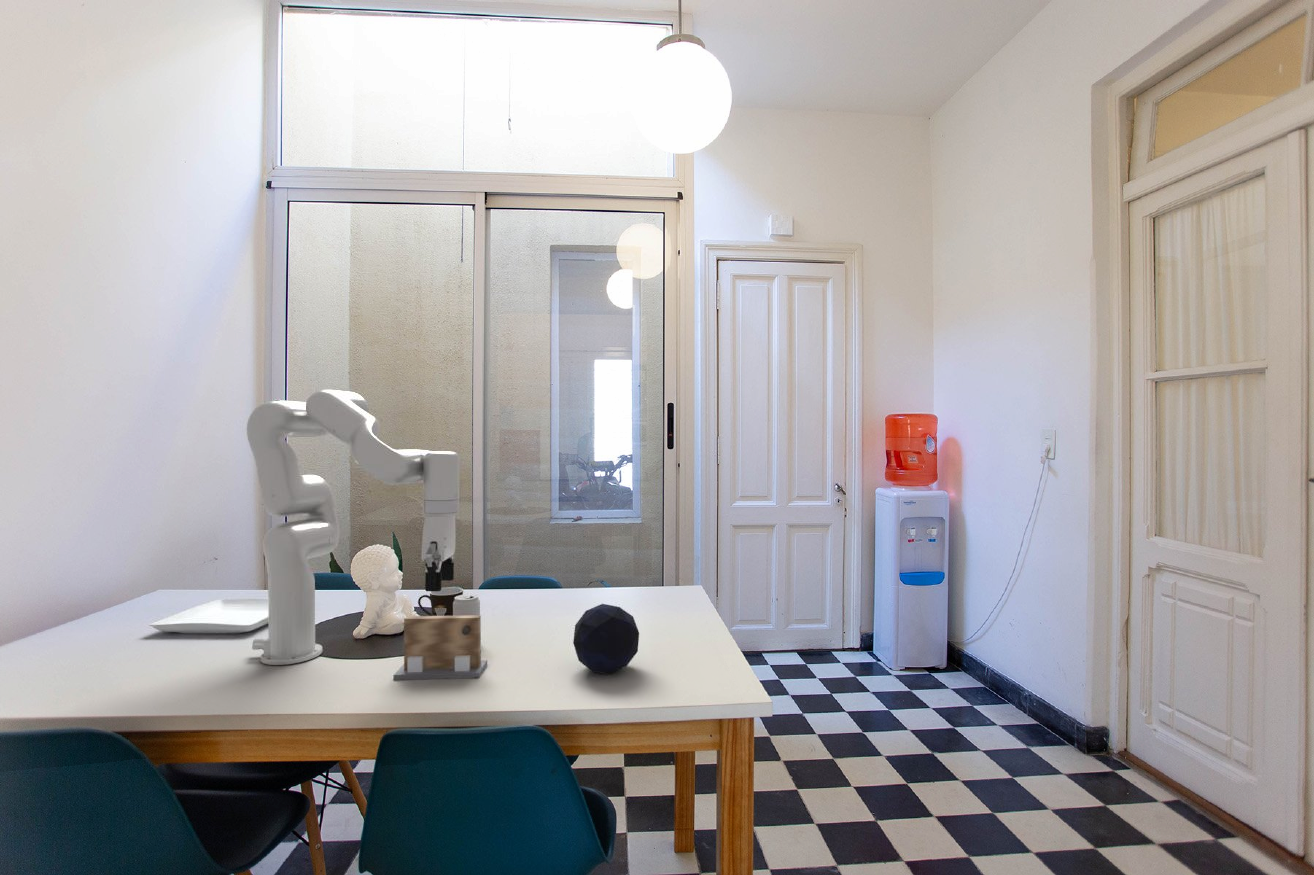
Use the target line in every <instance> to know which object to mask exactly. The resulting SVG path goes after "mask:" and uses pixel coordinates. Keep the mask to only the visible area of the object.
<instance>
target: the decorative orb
mask: <svg viewBox="0 0 1314 875" xmlns="http://www.w3.org/2000/svg"><path fill="white" fill-rule="evenodd" d="M639 639H640V632H639V628H638V626H637V623H636V620H635V618H634V616H633V615H632V614H630V613H629V612H627V611H626V610H625V609H623V608H622V607H620V606H616V605H611V604H605V603H601V604H598V605H596V606H594V607H591V608H590V609H587V610H585V611H584V612H583V614H582V615H581V617H580V618H579V619H578V621H577V622H576V623H575V625H574V633H573V642H572V644H573V646H574V649H575V650H574V651H575V654H576V657H577V659H578V661H579V662H580V664H582V665H583V666H585V667H586V668H587V669H588V670H590V671H591V672H594V673H599V674H607V675H612V674H613V673H616V672H618V671H620V670H622V669H623V668H626V667H628V665H629V664H630V662H631V661H632V660H633V658H634V657H635V656H636V654H638V651H639V641H640V640H639Z"/></svg>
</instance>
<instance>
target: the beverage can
mask: <svg viewBox="0 0 1314 875" xmlns="http://www.w3.org/2000/svg"><path fill="white" fill-rule="evenodd" d="M464 615H481V600H480V599H479V595H477V594H475V593H474V594H473V593H471V594H470V593H467V594H466V593H465V594H463V595H459V596H456V597H455V601H454V602H453V616H464Z"/></svg>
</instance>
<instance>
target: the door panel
mask: <svg viewBox="0 0 1314 875" xmlns="http://www.w3.org/2000/svg"><path fill="white" fill-rule="evenodd" d="M481 619H482V616H481V614H480V615H464V616H430V615H418V616H417V615H416V616H415V615H413V616H412V615H410V616H409V615H407V616H406V617H404V618H403V639H404V640H403V665H404V670H405V669H407V658H408V657H413V656H423V669H455V657H456V656H463V655H470V668H479V667H480V665H481V660H482V659H481V658H482V655H481V652H482V650H481V647H482V646H481V644H482V642H481V640H482V639H481V638H482V636H481V632H482V631H481V630H482V629H481V628H482V627H481V626H482V625H481V622H482V621H481Z"/></svg>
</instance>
